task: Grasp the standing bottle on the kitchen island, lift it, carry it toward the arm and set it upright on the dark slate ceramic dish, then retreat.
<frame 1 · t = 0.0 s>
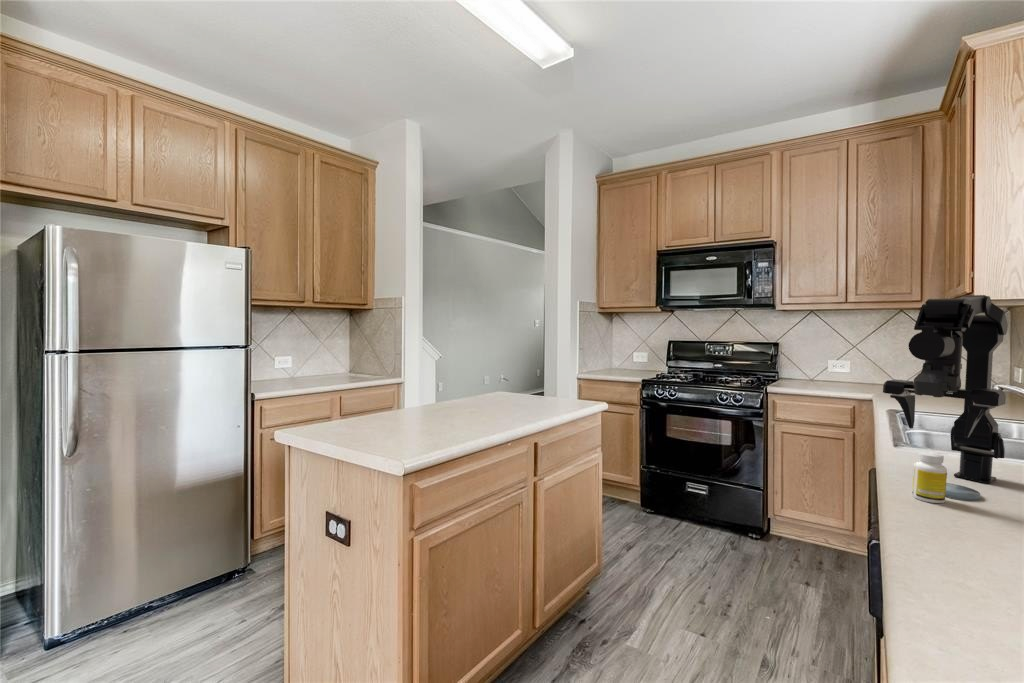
hand: (938, 432, 104), 15 cm above the countertop, fingers open, 9 cm apart
supplement bottle: (928, 500, 106), on the countertop
dish: (952, 493, 110), on the countertop
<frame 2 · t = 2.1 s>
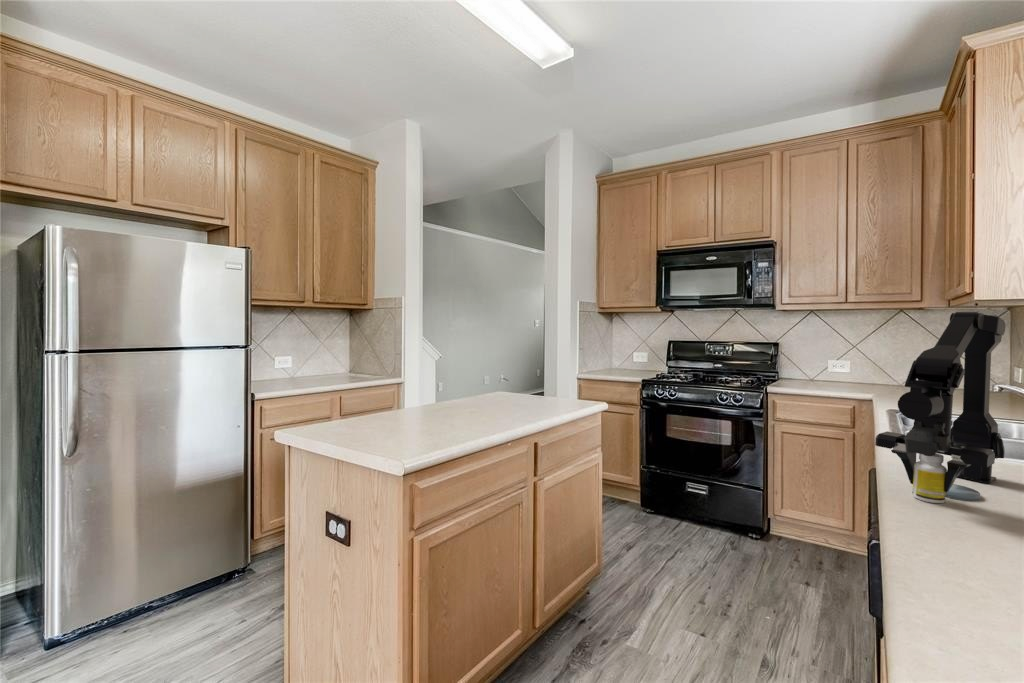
hand: (929, 487, 106), 3 cm above the countertop, fingers closed on supplement bottle, 5 cm apart
supplement bottle: (928, 500, 106), on the countertop, touching gripper
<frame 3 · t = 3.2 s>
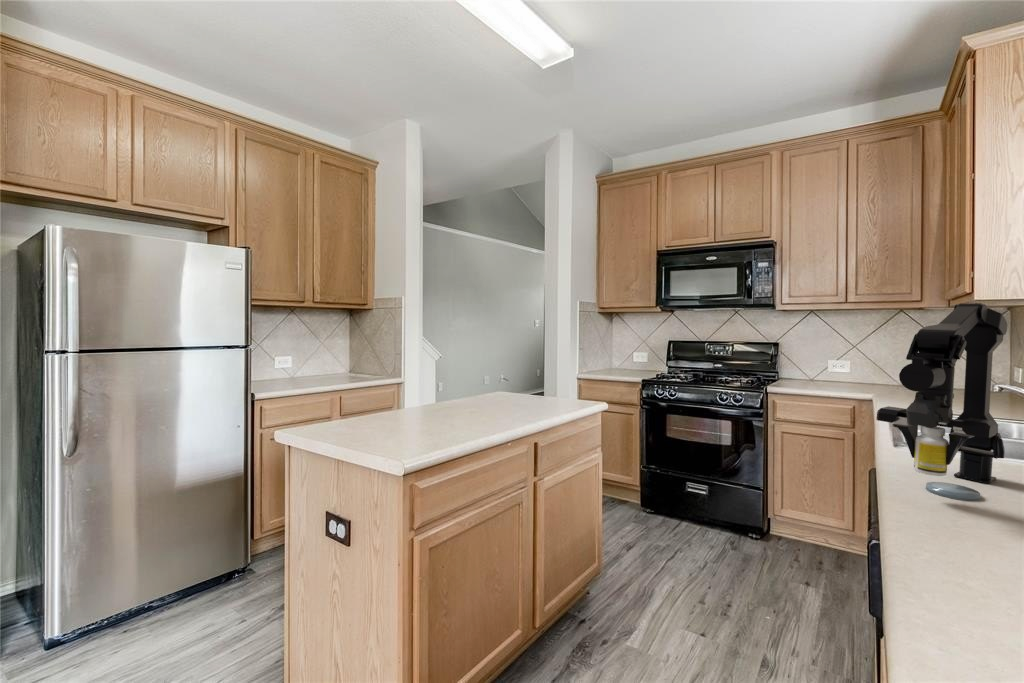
hand: (930, 460, 105), 8 cm above the countertop, fingers closed on supplement bottle, 5 cm apart
supplement bottle: (929, 473, 105), point 6 cm above the countertop, touching gripper
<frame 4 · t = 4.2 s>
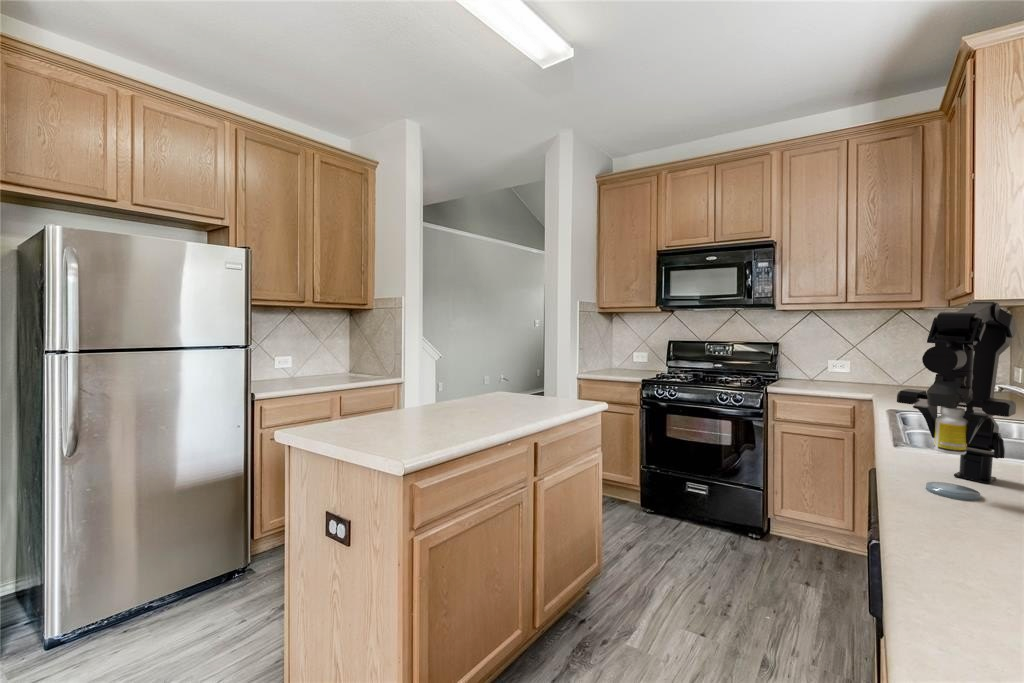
hand: (950, 440, 109), 12 cm above the countertop, fingers closed on supplement bottle, 5 cm apart
supplement bottle: (949, 452, 109), point 9 cm above the countertop, touching gripper
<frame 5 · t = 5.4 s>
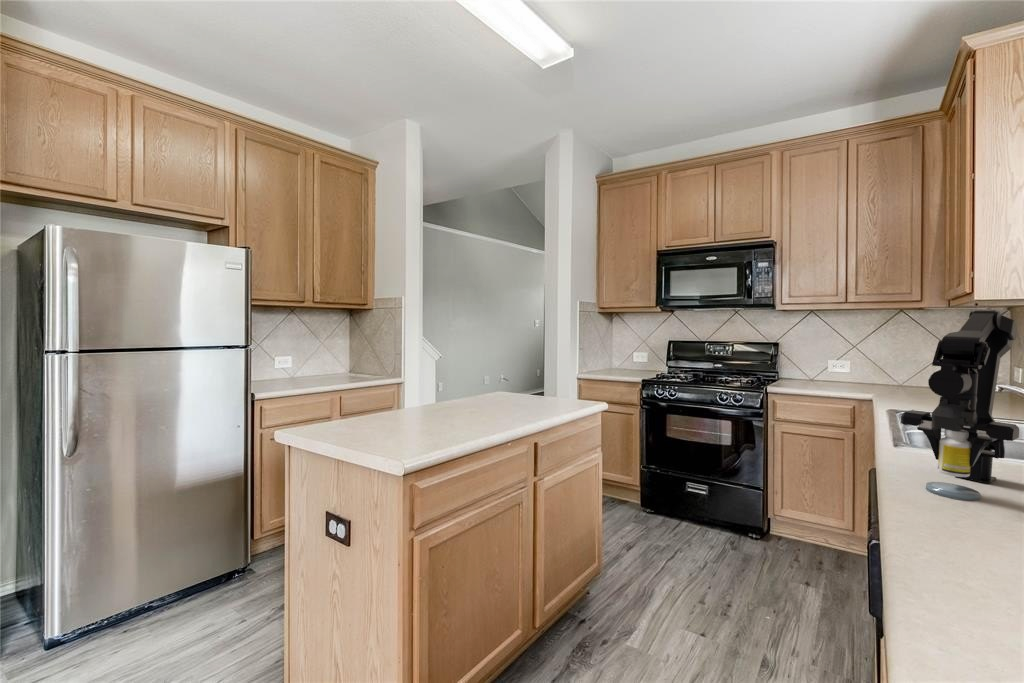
hand: (954, 462, 110), 7 cm above the countertop, fingers closed on supplement bottle, 5 cm apart
supplement bottle: (953, 474, 110), point 4 cm above the countertop, touching gripper
when the fingers open (4 cm above the countertop, at t = 6.3 s): supplement bottle stays where it is, resting on dish.
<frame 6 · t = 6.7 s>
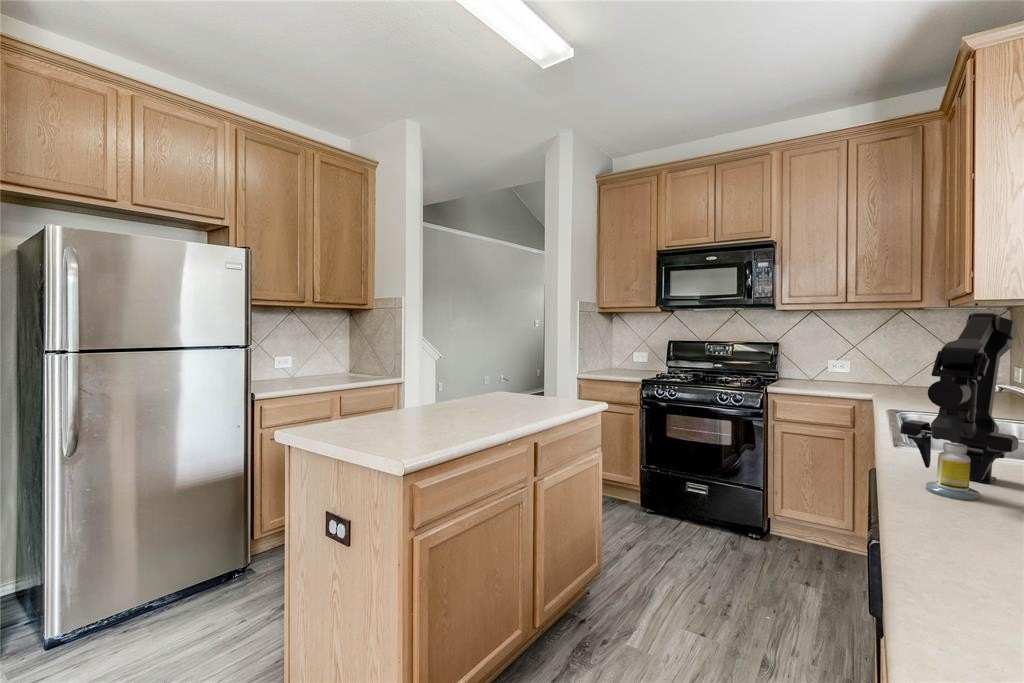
hand: (953, 473, 110), 4 cm above the countertop, fingers open, 9 cm apart
supplement bottle: (952, 488, 110), point 1 cm above the countertop, touching dish
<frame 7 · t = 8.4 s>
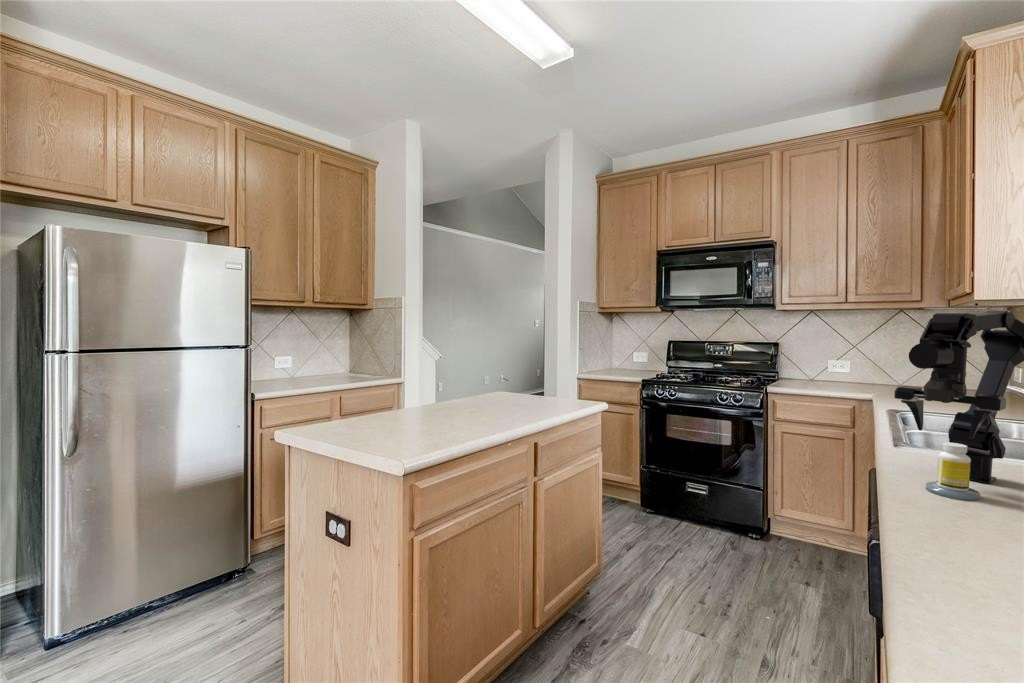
hand: (945, 434, 115), 12 cm above the countertop, fingers open, 9 cm apart
nothing on the countertop moved.
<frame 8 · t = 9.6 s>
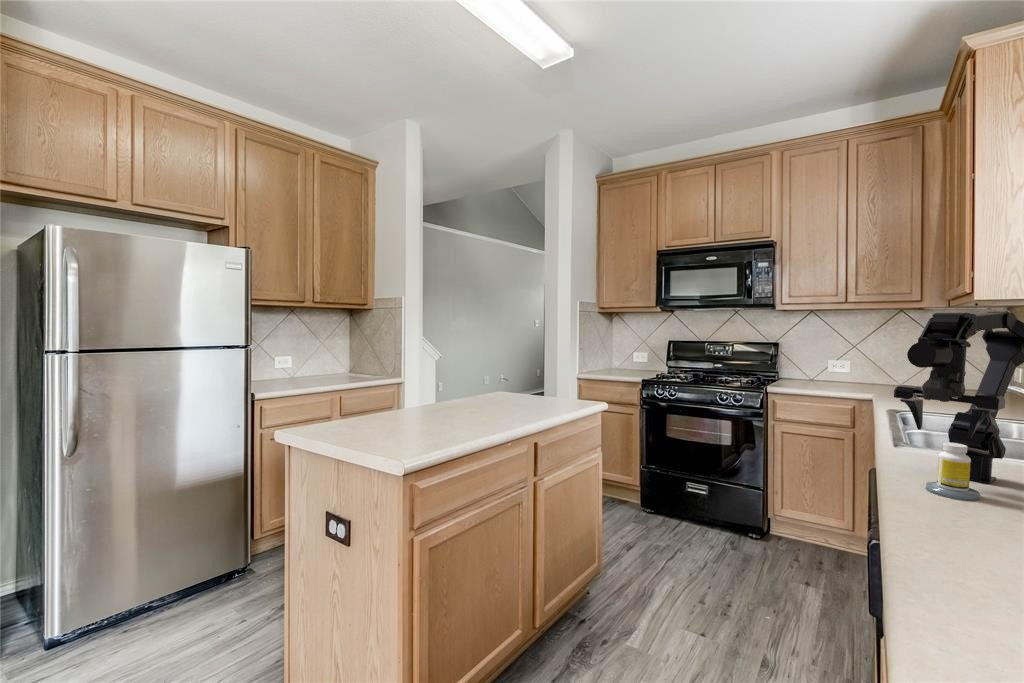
hand: (943, 433, 115), 12 cm above the countertop, fingers open, 9 cm apart
nothing on the countertop moved.
at the end: supplement bottle 0.1 cm off-centre on the dish, point 0.9 cm above the dish's base; supplement bottle tilted 0°; the gripper is holding nothing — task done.
